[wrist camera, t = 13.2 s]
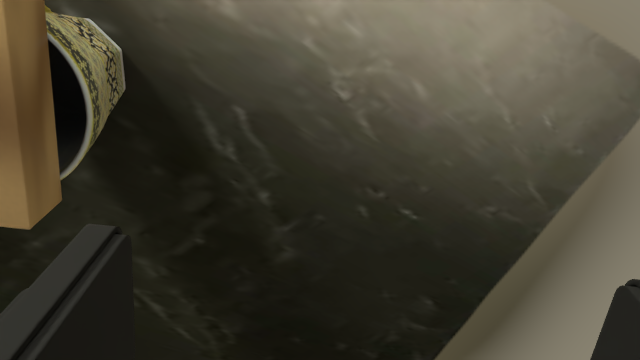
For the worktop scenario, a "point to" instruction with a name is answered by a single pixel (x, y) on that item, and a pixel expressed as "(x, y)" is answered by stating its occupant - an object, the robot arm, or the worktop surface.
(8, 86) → the wooden block
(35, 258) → the worktop surface
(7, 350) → the robot arm
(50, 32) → the ceramic cup
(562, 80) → the worktop surface
